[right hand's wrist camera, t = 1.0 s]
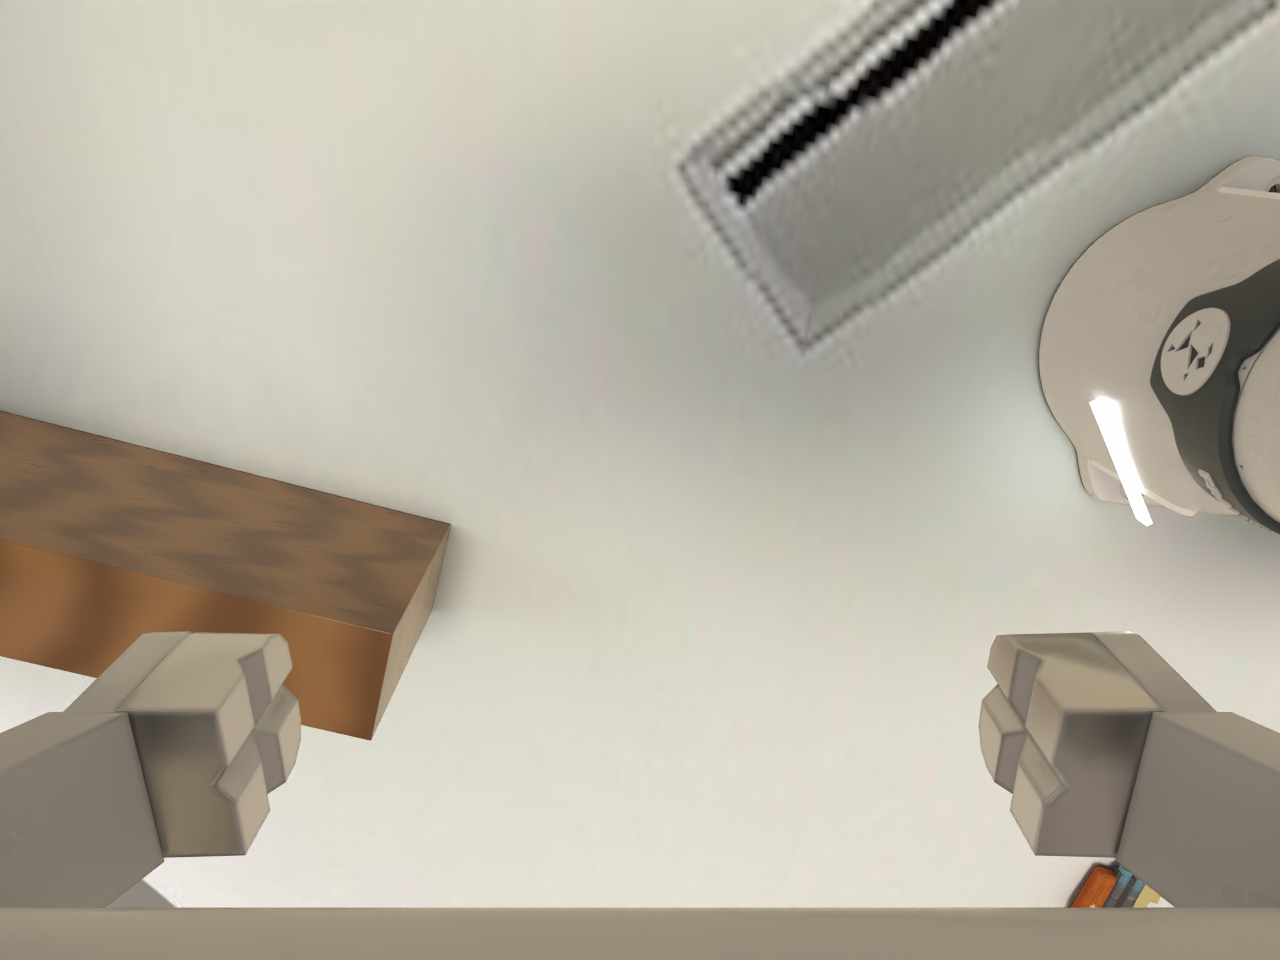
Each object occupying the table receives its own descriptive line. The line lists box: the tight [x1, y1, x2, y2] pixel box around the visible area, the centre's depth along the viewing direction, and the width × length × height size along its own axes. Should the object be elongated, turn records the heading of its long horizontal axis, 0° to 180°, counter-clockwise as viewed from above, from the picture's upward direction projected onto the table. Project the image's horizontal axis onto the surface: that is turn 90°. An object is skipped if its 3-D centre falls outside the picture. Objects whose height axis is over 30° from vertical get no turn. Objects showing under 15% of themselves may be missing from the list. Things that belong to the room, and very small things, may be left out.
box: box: [0, 411, 451, 740], centre depth 45 cm, size 27×6×13 cm, turn 75°
